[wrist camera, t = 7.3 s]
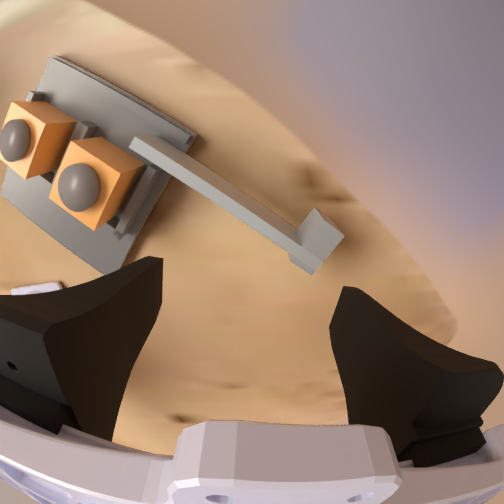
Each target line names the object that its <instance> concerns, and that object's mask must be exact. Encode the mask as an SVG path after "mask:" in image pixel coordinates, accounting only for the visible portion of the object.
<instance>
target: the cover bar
mask: <svg viewBox="0 0 504 504" xmlns="http://www.w3.org/2000/svg"><path fill="white" fill-rule="evenodd" d="M129 148H130V149H132V150H134V151H135V152H137V153H138V154H140V155H141V156H143V157H145V158H146V159H148V160H149V161H151V162H152V163H154V164H155V165H157V166H159V167H160V168H162V169H163V170H165V171H166V172H168V173H169V174H171V175H173V176H174V177H176V178H177V179H179V180H180V181H182V182H183V183H185V184H186V185H188V186H189V187H191V188H193V189H194V190H196V191H197V192H199V193H200V194H202V195H203V196H205V197H206V198H208V199H209V200H211V201H212V202H214V203H215V204H217V205H218V206H220V207H221V208H223V209H224V210H226V211H227V212H229V213H230V214H232V215H233V216H235V217H236V218H238V219H239V220H241V221H242V222H244V223H245V224H247V225H248V226H250V227H251V228H253V229H254V230H256V231H257V232H259V233H260V234H262V235H263V236H265V237H266V238H268V239H269V240H271V241H272V242H274V243H275V244H277V245H278V246H280V247H281V248H283V249H284V250H286V251H287V252H288V253H289V257H290V261H291V262H293V263H294V264H296V265H297V266H298V267H300V268H301V269H303V270H304V271H306V272H307V273H309V274H310V275H313V273H314V272H315V271H316V270H317V269H318V268H319V266H320V265H321V264H322V263H323V262H324V261H325V259H326V258H327V257H328V256H329V255H330V253H331V252H332V251H333V250H334V249H335V247H336V246H337V245H338V244H339V243H340V241H341V240H342V239H343V238H344V237H345V236H344V234H343V233H342V232H341V231H340V229H339V228H338V227H337V225H336V224H335V223H334V222H333V221H332V220H331V219H330V218H328V217H327V216H326V215H324V214H323V213H322V212H321V211H319V210H318V209H317V208H315V207H314V208H313V209H312V211H311V212H310V213H309V214H308V216H307V217H306V218H305V220H304V221H303V222H302V223H301V225H300V226H299V227H298V228H297V229H296V228H295V227H294V226H292V225H291V224H289V223H288V222H287V221H285V220H284V219H282V218H281V217H279V216H278V215H277V214H275V213H274V212H272V211H271V210H269V209H268V208H267V207H265V206H264V205H262V204H261V203H259V202H258V201H256V200H255V199H253V198H252V197H251V196H249V195H248V194H246V193H245V192H243V191H242V190H240V189H239V188H237V187H236V186H234V185H233V184H231V183H230V182H228V181H227V180H225V179H224V178H222V177H221V176H219V175H218V174H216V173H215V172H213V171H212V170H210V169H209V168H207V167H206V166H204V165H203V164H201V163H199V162H198V161H196V160H195V159H193V158H192V157H190V156H189V155H187V154H186V153H184V152H182V151H181V150H179V149H178V148H176V147H175V146H173V145H171V144H170V143H168V142H167V141H165V140H163V139H162V138H160V137H159V136H157V135H144V136H135V137H134V139H133V141H132V142H131V144H130V146H129Z"/></svg>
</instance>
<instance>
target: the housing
mask: <svg viewBox="0 0 504 504" xmlns="http://www.w3.org/2000/svg"><path fill="white" fill-rule="evenodd" d="M46 64H47V65H48V66H47V68H46V70H45V72H44V74H43V76H42V78H41V80H40V82H39V84H38V86H37V89H36V91H29V94H28V96H27V98H26V101H45V102H47V103H49V104H50V105H52V106H54V107H55V108H57V109H59V110H60V111H62V112H63V113H65V114H67V115H68V116H70V117H71V118H73V119H75V120H76V121H78V123H77V125H76V127H75V129H74V131H73V133H72V135H71V138H70V140H69V142H68V144H67V147H66V149H65V151H64V154H63V156H62V159H61V161H60V164H59V166H58V169H57V170H53V171H50V172H47V173H44V174H41V175H38V176H35V177H32V178H29V179H26V180H25V179H24V178H23V177H21V176H20V175H19V174H18V173H16V172H15V171H14V170H13V169H12V168H10V167H9V166H8V167H7V170H6V174H5V178H4V182H3V186H2V190H1V195H2V196H3V197H4V198H5V199H6V200H7V201H9V202H10V203H11V204H12V205H13V206H14V207H16V208H17V209H18V210H19V211H20V212H21V213H23V214H24V215H25V216H26V217H27V218H29V219H30V220H31V221H32V222H34V223H35V224H36V225H37V226H39V227H40V228H41V229H42V230H44V231H45V232H46V233H47V234H49V235H50V236H51V237H53V238H54V239H55V240H56V241H58V242H59V243H60V244H62V245H63V246H64V247H66V248H67V249H68V250H70V251H71V252H73V253H74V254H75V255H77V256H78V257H79V258H81V259H82V260H84V261H85V262H86V263H88V264H89V265H91V266H92V267H93V268H95V269H96V270H98V271H99V272H101V273H102V274H104V275H107V274H109V273H112V272H114V271H116V270H118V269H120V268H122V266H123V264H124V262H125V260H126V258H127V256H128V254H129V252H130V250H131V248H132V246H133V245H134V243H135V241H136V239H137V237H138V235H139V233H140V231H141V229H142V228H143V226H144V224H145V222H146V220H147V218H148V217H149V215H150V213H151V211H152V209H153V208H154V206H155V204H156V202H157V201H158V199H159V197H160V196H161V194H162V192H163V190H164V189H165V187H166V185H167V184H168V182H169V180H170V179H171V177H172V175H171V174H169V173H168V172H166V171H165V170H163V169H162V168H160V167H159V166H157V165H155V164H154V163H152V162H151V161H149V160H148V159H146V158H145V157H143V156H141V155H140V154H138V153H137V152H135V151H134V150H132V149H130V148H129V146H130V144H131V142H132V141H133V139H134V137H135V136H144V135H157V136H159V137H160V138H162V139H163V140H165V141H167V142H168V143H170V144H171V145H173V146H175V147H176V148H178V149H179V150H181V151H182V152H184V153H187V151H188V150H189V148H190V147H191V145H192V144H193V142H194V141H195V139H196V138H197V136H198V135H199V134H197V133H196V132H194V131H192V130H191V129H189V128H188V127H186V126H184V125H183V124H181V123H180V122H178V121H176V120H175V119H173V118H171V117H170V116H168V115H166V114H165V113H163V112H161V111H160V110H158V109H156V108H155V107H153V106H151V105H150V104H148V103H146V102H144V101H143V100H141V99H139V98H137V97H136V96H134V95H132V94H130V93H129V92H127V91H125V90H123V89H121V88H120V87H118V86H116V85H114V84H112V83H111V82H109V81H107V80H105V79H103V78H101V77H99V76H98V75H96V74H94V73H92V72H90V71H88V70H86V69H84V68H82V67H80V66H78V65H76V64H74V63H72V62H70V61H68V60H66V59H64V58H62V57H60V56H57V55H53V57H49V59H48V61H47V62H46ZM95 137H103V138H105V139H106V140H108V141H109V142H111V143H113V144H114V145H116V146H117V147H119V148H120V149H122V150H124V151H125V152H127V153H128V154H130V155H131V156H133V157H134V158H136V159H138V160H139V161H141V162H142V163H144V164H145V166H144V168H143V170H142V172H141V173H140V175H139V177H138V179H137V181H136V183H135V184H134V186H133V188H132V190H131V192H130V194H129V196H128V198H127V200H126V202H125V204H124V206H123V208H122V210H121V212H120V213H119V214H117V215H116V216H114V217H113V218H111V219H110V220H109V221H107V222H106V223H104V224H103V225H102V226H100V227H99V228H98V229H96V230H95V231H93V230H92V229H91V228H89V227H88V226H86V225H85V224H83V223H82V222H81V221H79V220H78V219H77V218H75V217H74V216H72V215H71V214H70V213H68V212H67V211H66V210H64V209H63V208H62V207H60V206H59V205H57V204H56V203H55V202H53V201H52V200H51V199H50V198H49V195H50V192H51V189H52V186H53V184H54V181H55V178H56V175H57V173H58V170H59V168H60V165H61V163H62V160H63V158H64V155H65V153H66V151H67V148H68V146H69V144H70V141H73V140H80V139H87V138H95Z"/></svg>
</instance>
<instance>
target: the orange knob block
mask: <svg viewBox="0 0 504 504" xmlns="http://www.w3.org/2000/svg"><path fill="white" fill-rule="evenodd" d="M77 123H78V121H76V120H75V119H73V118H71V117H70V116H68V115H67V114H65V113H63V112H62V111H60V110H59V109H57V108H55V107H54V106H52V105H50V104H49V103H47V102H45V101H17V102H12V103H11V106H10V108H9V111H8V114H7V116H6V119H5V122H4V125H3V128H2V131H1V134H0V159H1V160H2V161H3V162H4V163H6V164H7V165H8V166H9V167H10V168H12V169H13V170H14V171H15V172H16V173H18V174H19V175H20V176H21V177H23V178H24V179H25V180H26V179H29V178H32V177H35V176H38V175H41V174H44V173H47V172H50V171H53V170H57V169H58V166H59V164H60V161H61V159H62V156H63V154H64V151H65V149H66V147H67V144H68V142H69V140H70V138H71V135H72V133H73V131H74V129H75V127H76V125H77Z"/></svg>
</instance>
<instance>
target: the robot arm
mask: <svg viewBox="0 0 504 504" xmlns="http://www.w3.org/2000/svg"><path fill="white" fill-rule="evenodd" d="M162 280H163V258H158V257H152V256H147V257H144V258H142V259H139V260H137V261H135V262H133V263H131V264H129V265H127V266H125V267H123V268H120V269H118V270H116V271H114V272H112V273H109V274H107V275H104V276H102V277H100V278H97V279H95V280H92V281H89V282H86V283H83V284H80V285H77V286H73V287H69V288H65V289H63V288H62V286H61V284H60V283H59V282H57V281H55V282H49V283H42V284H36V285H30V286H23V287H17V288H13V289H12V290H11V294H12V295H0V478H2V479H3V480H5V481H6V482H7V483H9V484H10V485H12V486H13V487H15V488H17V489H18V490H19V491H21V492H23V493H24V494H26V495H27V496H29V497H31V498H32V499H34V500H36V501H37V502H39V503H41V504H484V503H486V502H487V501H489V500H490V499H491V498H493V497H494V496H496V495H497V494H498V493H500V492H501V491H502V490H504V424H501V425H498V426H495V427H493V428H490V429H488V430H486V431H485V432H483V433H482V432H481V430H480V428H479V427H481V426H482V424H483V420H482V418H481V417H480V416H481V414H482V413H483V412H484V411H485V410H486V409H487V407H488V406H489V405H490V404H491V402H492V401H493V400H494V399H495V397H496V396H497V394H498V393H499V392H500V389H501V387H502V385H503V381H504V375H503V373H502V371H501V370H500V368H499V367H498V366H497V364H496V363H494V362H491V361H487V360H484V359H480V358H476V357H472V356H469V355H467V354H464V353H461V352H459V351H456V350H454V349H451V348H449V347H447V346H444V345H442V344H440V343H438V342H436V341H434V340H432V339H430V338H428V337H427V336H425V335H423V334H422V333H420V332H418V331H417V330H415V329H413V328H412V327H410V326H409V325H407V324H406V323H405V322H403V321H402V320H400V319H399V318H397V317H396V316H395V315H393V314H392V313H391V312H389V311H388V310H387V309H386V308H384V307H383V306H382V305H380V304H379V303H378V302H377V301H375V300H374V299H373V298H371V297H370V296H369V295H367V294H366V293H365V292H363V291H362V290H360V289H358V288H355V287H347V286H343V289H342V292H341V294H340V297H339V300H338V303H337V306H336V309H335V312H334V315H333V317H332V320H331V323H330V326H329V330H330V338H331V345H332V350H333V353H334V357H335V360H336V364H337V367H338V371H339V374H340V378H341V381H342V385H343V388H344V393H345V397H346V404H347V412H348V421H349V425H298V424H278V423H265V422H253V421H244V420H208V421H205V422H202V423H199V424H195V425H192V426H189V427H186V428H184V429H183V431H182V433H181V434H180V436H179V438H178V439H177V443H176V447H175V452H174V455H160V454H153V453H149V452H145V451H141V450H137V449H134V448H130V447H127V446H123V445H120V444H117V443H113V442H112V437H113V432H114V428H115V424H116V420H117V416H118V412H119V408H120V405H121V401H122V398H123V394H124V391H125V388H126V385H127V382H128V379H129V376H130V373H131V370H132V368H133V366H134V363H135V361H136V359H137V357H138V355H139V353H140V351H141V349H142V347H143V345H144V343H145V341H146V339H147V337H148V336H149V334H150V332H151V330H152V328H153V326H154V324H155V322H156V319H157V316H158V313H159V310H160V307H161V304H162Z"/></svg>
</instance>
